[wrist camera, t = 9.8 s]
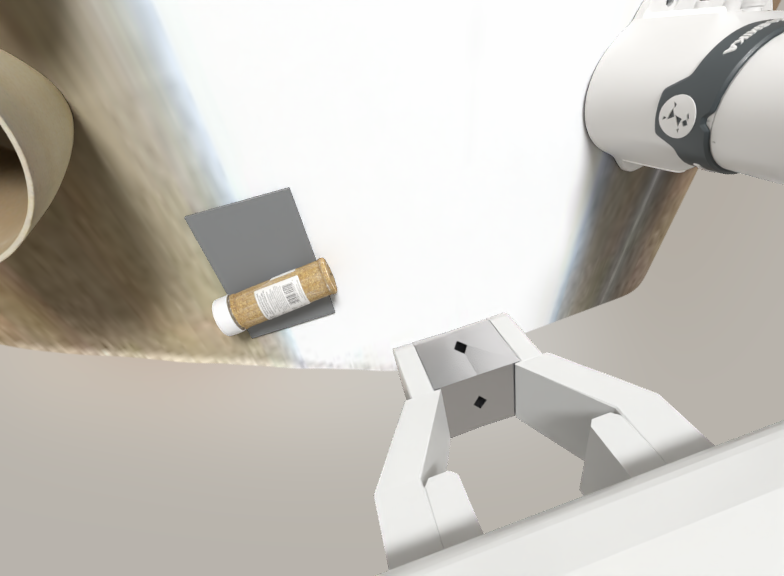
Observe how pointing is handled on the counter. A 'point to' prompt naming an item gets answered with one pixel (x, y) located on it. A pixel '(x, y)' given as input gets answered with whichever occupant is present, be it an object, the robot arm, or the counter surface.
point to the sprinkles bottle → (273, 297)
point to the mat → (258, 249)
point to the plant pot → (29, 148)
